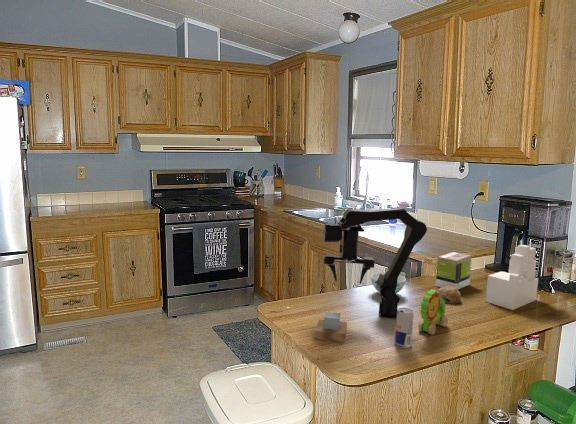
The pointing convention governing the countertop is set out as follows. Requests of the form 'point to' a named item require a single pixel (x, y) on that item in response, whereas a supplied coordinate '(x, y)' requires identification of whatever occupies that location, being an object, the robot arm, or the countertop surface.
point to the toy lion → (432, 312)
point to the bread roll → (449, 294)
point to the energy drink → (404, 327)
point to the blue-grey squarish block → (331, 321)
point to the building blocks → (514, 281)
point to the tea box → (453, 270)
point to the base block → (331, 332)
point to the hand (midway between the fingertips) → (348, 282)
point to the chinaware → (400, 281)
